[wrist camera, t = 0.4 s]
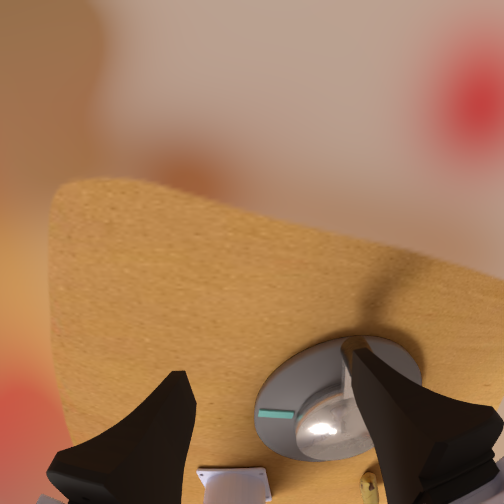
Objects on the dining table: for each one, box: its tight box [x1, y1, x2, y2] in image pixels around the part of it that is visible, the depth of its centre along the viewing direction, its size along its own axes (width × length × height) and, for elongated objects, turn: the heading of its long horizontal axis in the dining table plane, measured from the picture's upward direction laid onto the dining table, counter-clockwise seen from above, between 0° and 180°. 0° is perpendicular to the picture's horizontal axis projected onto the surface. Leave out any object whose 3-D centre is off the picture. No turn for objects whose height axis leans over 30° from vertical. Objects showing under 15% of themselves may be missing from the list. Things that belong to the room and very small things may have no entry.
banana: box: [360, 472, 379, 504], centre depth 27 cm, size 10×2×4 cm, turn 18°
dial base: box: [254, 336, 422, 462], centre depth 24 cm, size 16×16×1 cm
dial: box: [294, 336, 374, 460], centre depth 19 cm, size 14×9×6 cm, turn 7°
